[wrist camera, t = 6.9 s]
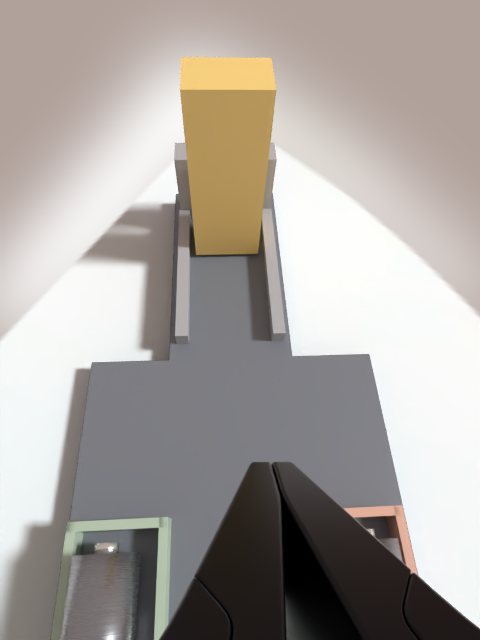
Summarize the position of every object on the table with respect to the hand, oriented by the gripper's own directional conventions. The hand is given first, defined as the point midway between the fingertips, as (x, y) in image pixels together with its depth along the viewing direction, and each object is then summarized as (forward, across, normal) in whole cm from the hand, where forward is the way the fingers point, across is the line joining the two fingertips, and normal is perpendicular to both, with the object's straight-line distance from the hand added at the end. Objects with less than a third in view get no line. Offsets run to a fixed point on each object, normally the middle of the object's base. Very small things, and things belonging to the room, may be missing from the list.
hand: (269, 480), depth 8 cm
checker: (+14, 0, +5) cm, 15 cm away
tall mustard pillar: (+20, +1, -3) cm, 21 cm away
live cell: (+6, +5, +12) cm, 14 cm away
